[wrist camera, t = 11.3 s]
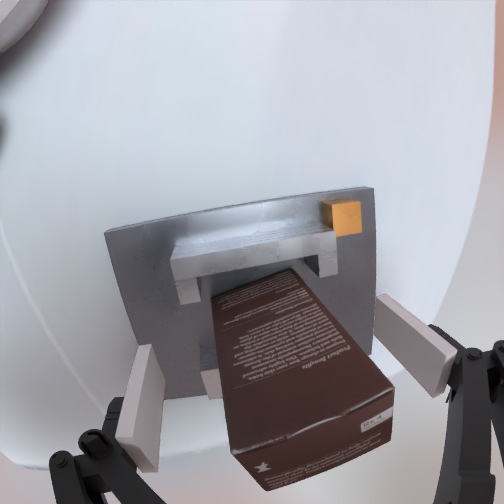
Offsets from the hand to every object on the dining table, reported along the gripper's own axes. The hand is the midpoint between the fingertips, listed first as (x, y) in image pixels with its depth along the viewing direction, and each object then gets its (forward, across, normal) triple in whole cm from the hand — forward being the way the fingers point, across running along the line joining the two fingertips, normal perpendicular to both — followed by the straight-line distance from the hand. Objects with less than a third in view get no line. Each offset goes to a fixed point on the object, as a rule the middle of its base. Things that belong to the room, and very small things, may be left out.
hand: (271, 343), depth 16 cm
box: (+4, 0, 0) cm, 5 cm away
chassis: (+5, 0, 0) cm, 5 cm away
